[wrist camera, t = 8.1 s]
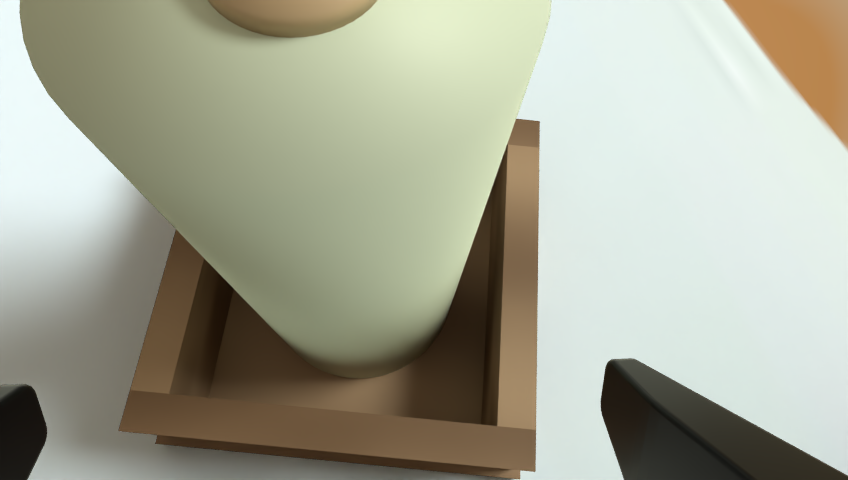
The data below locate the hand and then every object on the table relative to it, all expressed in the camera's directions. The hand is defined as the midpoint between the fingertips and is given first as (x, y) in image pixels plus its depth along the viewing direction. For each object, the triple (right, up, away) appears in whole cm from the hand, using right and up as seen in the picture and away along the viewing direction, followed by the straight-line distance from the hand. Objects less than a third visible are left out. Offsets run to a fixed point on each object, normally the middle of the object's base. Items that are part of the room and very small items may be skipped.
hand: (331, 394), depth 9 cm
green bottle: (-1, +1, +10) cm, 10 cm away
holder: (-1, +1, +10) cm, 10 cm away
